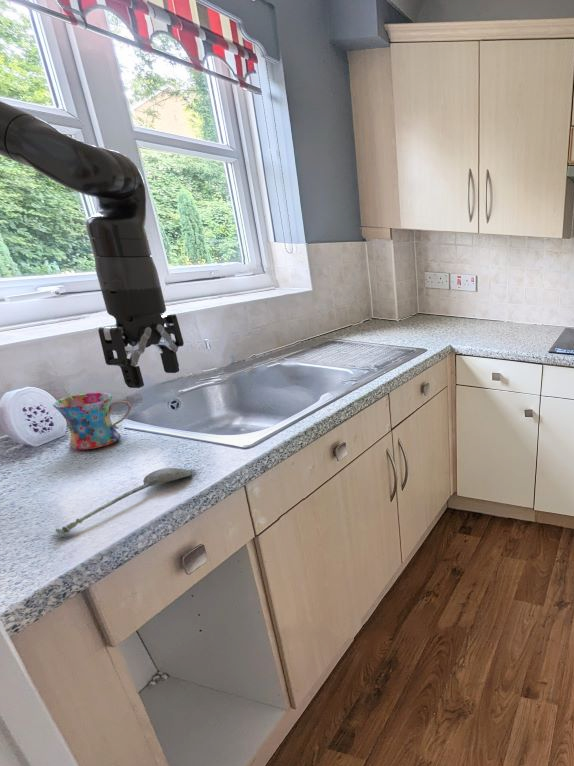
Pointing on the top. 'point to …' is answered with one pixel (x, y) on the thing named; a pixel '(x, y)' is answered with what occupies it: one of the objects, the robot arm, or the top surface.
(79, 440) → the mug
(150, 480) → the soupspoon
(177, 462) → the top surface
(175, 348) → the robot arm
